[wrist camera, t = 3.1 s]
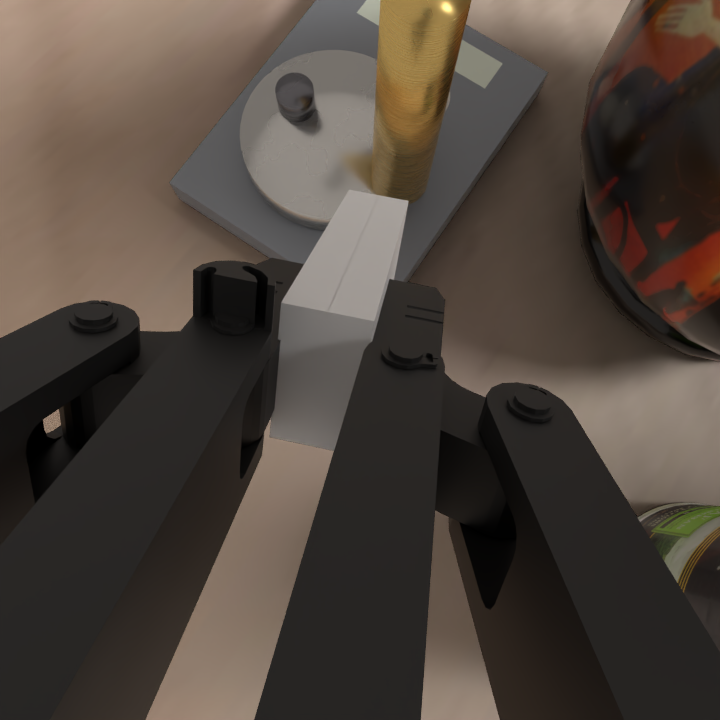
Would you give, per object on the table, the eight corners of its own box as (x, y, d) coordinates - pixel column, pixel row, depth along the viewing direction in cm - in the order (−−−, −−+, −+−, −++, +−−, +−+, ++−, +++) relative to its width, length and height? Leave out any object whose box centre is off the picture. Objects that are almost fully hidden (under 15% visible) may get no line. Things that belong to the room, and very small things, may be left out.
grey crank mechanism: (350, -17, 40) (350, -69, 36) (538, 93, 38) (558, 51, 35) (179, 198, 37) (159, 166, 33) (376, 327, 35) (378, 308, 32)
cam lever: (311, 39, 36) (284, -251, 22) (471, 135, 35) (550, -106, 21) (209, 168, 35) (106, -55, 20) (372, 274, 34) (385, 115, 19)
